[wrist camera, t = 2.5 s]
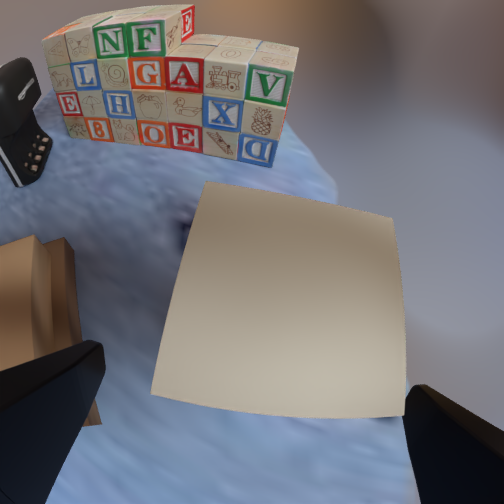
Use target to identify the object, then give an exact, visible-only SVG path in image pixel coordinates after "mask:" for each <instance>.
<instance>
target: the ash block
mask: <svg viewBox="0 0 504 504" xmlns="http://www.w3.org/2000/svg"><path fill="white" fill-rule="evenodd" d="M401 281H402V280H401V271H400V263H399V257H398V249H397V242H396V236H395V230H394V225H393V219H392V218H389V217H385V216H381V215H377V214H373V213H369V212H365V211H360V210H356V209H352V208H347V207H343V206H339V205H334V204H330V203H325V202H320V201H316V200H311V199H306V198H301V197H296V196H291V195H286V194H281V193H275V192H270V191H264V190H259V189H253V188H247V187H241V186H235V185H229V184H222V183H216V182H209V181H206V182H205V185H204V188H203V191H202V194H201V197H200V200H199V203H198V207H197V210H196V213H195V216H194V219H193V223H192V226H191V229H190V233H189V236H188V240H187V243H186V246H185V250H184V253H183V257H182V261H181V264H180V268H179V271H178V275H177V279H176V283H175V286H174V290H173V294H172V298H171V302H170V306H169V310H168V314H167V318H166V322H165V327H164V331H163V335H162V339H161V344H160V348H159V353H158V358H157V362H156V367H155V372H154V377H153V382H152V387H151V392H150V394H153V395H157V396H161V397H165V398H169V399H173V400H178V401H182V402H187V403H192V404H197V405H202V406H207V407H213V408H219V409H225V410H232V411H239V412H246V413H254V414H263V415H273V416H285V417H301V418H333V419H345V418H377V417H392V416H403V415H404V410H405V391H406V335H405V317H404V316H405V315H404V301H403V290H402V282H401Z"/></svg>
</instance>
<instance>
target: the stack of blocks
mask: <svg viewBox="0 0 504 504" xmlns="http://www.w3.org/2000/svg"><path fill="white" fill-rule="evenodd" d="M194 9H195V6H194V5H163V6H160V5H159V6H146V7H136V8H132V9H123V10H117V11H110V12H106V13H99V14H94V15H89V16H85V17H82V18H80V19H78V20H76V21H74V22H72V23H70V24H68V25H66V26H65V27H63V28H61V29H59V30H57V31H56V32H54V33H52V34H51V35H49V36H47V37H46V38H44V39H43V40H42V46H43V50H44V54H45V57H46V61H47V65H48V71H49V74H50V78H51V81H52V85H53V88H54V91H55V92H56V96H57V99H58V102H59V105H60V108H61V111H62V113H63V116H64V117H63V118H64V121H65V124H66V127H67V129H68V132H69V134H70V137H71V138H79V139H91V140H96V141H106V142H116V143H124V144H132V145H146V146H156V147H163V148H173V149H179V150H185V151H191V152H197V153H203V154H206V155H212V156H217V157H222V158H227V159H232V160H238V161H242V162H247V163H251V164H256V165H261V166H266V167H271V168H272V167H273V162H274V158H275V154H276V150H277V146H278V142H279V139H280V135H281V131H282V127H283V123H284V119H285V115H286V111H287V106H288V102H289V97H290V90H291V85H292V80H293V75H294V70H295V65H296V61H297V55H298V50H299V48H297V47H292V46H287V45H282V44H277V43H272V42H263V41H261V40H255V39H247V38H240V37H231V36H222V35H206V34H198V35H193V34H194Z"/></svg>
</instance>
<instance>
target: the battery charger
mask: <svg viewBox="0 0 504 504" xmlns="http://www.w3.org/2000/svg"><path fill="white" fill-rule="evenodd" d="M40 96H41V90H40V87H39V83H38V80H37V77H36V74H35V71H34V68H33V66H32V63H31V62H30V60H28V59H27V58H21V57H20V58H17V59H15V60H13V61H11V62H9V63H5V64H3V65H1V66H0V161H1V163H2V164H3V166H4V168H5V169H6V171H7V173H8V174H9V176H10V178H11V180H12V181H13V183H14V185H15V186H16V187H23V186H24V185H27V184H30V183H32V182H34V181H35V180H37V179H38V178H39V177H40V175H41V174H42V171H43V169H44V166H45V163H46V161H47V158H48V155H49V152H50V150H51V147H52V143H53V142H52V139H51V138H50V137H49V136H48V135H47V134H46V133H45V132H44V131H43V130H42V129H41V128H40V126H39V125H38V123H37V121H36V118H35V115H34V112H33V107H34V105H35V104H36V102H37V101H38V99H39V98H40Z"/></svg>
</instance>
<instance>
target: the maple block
mask: <svg viewBox="0 0 504 504" xmlns="http://www.w3.org/2000/svg"><path fill="white" fill-rule="evenodd" d="M53 352H56V351H55V342H54V332H53V320H52V302H51V254H50V253H49V252H48V251H47V249H46V248H45V247H44V246H43V245H42V243H41V242H40V241H39V240H38V239H37V237H36V236H35V235H31V236H28V237H25V238H22V239H19V240H16V241H13V242H11V243H8V244H5V245H2V246H0V371H2V370H5V369H8V368H11V367H14V366H16V365H19V364H22V363H25V362H28V361H31V360H34V359H36V358H39V357H42V356H45V355H48V354H50V353H53Z"/></svg>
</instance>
